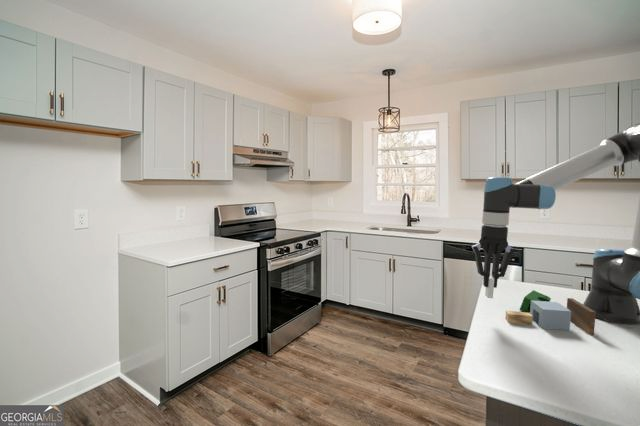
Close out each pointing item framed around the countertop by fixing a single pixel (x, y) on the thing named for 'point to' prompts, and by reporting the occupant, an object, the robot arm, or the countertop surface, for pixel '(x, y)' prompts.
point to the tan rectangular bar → (519, 317)
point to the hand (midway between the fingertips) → (489, 296)
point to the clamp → (534, 297)
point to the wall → (581, 316)
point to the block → (550, 315)
